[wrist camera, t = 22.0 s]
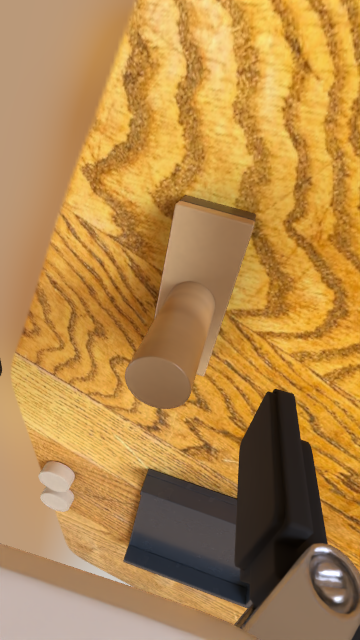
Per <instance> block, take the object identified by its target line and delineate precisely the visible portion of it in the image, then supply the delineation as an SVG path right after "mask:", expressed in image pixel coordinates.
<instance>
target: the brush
mask: <svg viewBox="0 0 360 640" xmlns="http://www.w3.org/2000/svg"><path fill="white" fill-rule="evenodd" d="M255 217H256V214H254V213H250V212H247V211H243V210H239V209H236V208H232V207H228V206H224V205H221V204H217V203H213V202H209V201H206V200H202V199H198V198H195V197H191V196H187V195H185V196H184V197H183V198H182V199H181V200H180V201H179V202H178V203H177V204H176V205H175V209H174V215H173V220H172V225H171V231H170V236H169V242H168V247H167V252H166V258H165V263H164V268H163V274H162V279H161V285H160V290H159V295H158V301H157V306H156V311H155V317H154V321H153V323H152V325H151V327H150V328H149V330H148V332H147V333H146V335H145V337H144V339H143V340H142V342H141V344H140V346H139V347H138V349H137V351H136V353H135V354H134V356H133V358H132V360H131V361H130V363H129V365H128V367H127V369H126V372H125V380H126V384H127V386H128V388H129V390H130V391H131V393H132V394H133V395H134V396H135V397H136V398H137V399H139V400H140V401H142V402H143V403H145V404H147V405H150V406H152V407H156V408H161V409H170V408H175V407H178V406H180V405H182V404H183V403H185V402H186V401H187V400H188V398H189V396H190V394H191V390H192V387H193V383H194V380H195V376H196V374H197V375H201V376H204V375H205V372H206V369H207V366H208V363H209V360H210V357H211V354H212V351H213V348H214V345H215V342H216V339H217V336H218V333H219V330H220V327H221V324H222V321H223V318H224V315H225V312H226V309H227V306H228V303H229V300H230V297H231V294H232V291H233V288H234V285H235V282H236V279H237V276H238V273H239V270H240V267H241V264H242V261H243V258H244V255H245V252H246V249H247V246H248V243H249V240H250V237H251V234H252V231H253V228H254V223H255Z"/></svg>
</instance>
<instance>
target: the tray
mask: <svg viewBox="0 0 360 640" xmlns="http://www.w3.org/2000/svg"><path fill="white" fill-rule="evenodd" d="M140 495H141V499H140V503H139V507H138V510H137V514H136V518H135V522H134V526H133V530H132V534H131V538H130V542H129V545H128V548H127V551H126V554H125V557H124V562H126V563H128V564H131V565H134V566H136V567H139V568H142V569H144V570H147V571H150V572H152V573H155V574H158V575H160V576H163V577H165V578H168V579H171V580H173V581H176V582H179V583H181V584H184V585H187V586H189V587H192V588H195V589H197V590H200V591H203V592H205V593H208V594H211V595H213V596H216V597H219V598H221V599H224V600H227V601H229V602H232V603H235V604H237V605H240V606H243V607H245V608H249V606H250V605H251V604H252V601H251V599H250V584H248V583H245V582H242V581H240V568H238V567H236V566H235V561H234V559H235V536H236V514H237V499H235V498H232V497H229V496H226V495H223V494H220V493H217V492H215V491H212V490H209V489H206V488H203V487H200V486H197V485H194V484H192V483H189V482H186V481H183V480H180V479H177V478H174V477H171V476H169V475H166V474H163V473H160V472H157V471H154V470H151V469H148V472H147V475H146V478H145V481H144V484H143V487H142V490H141V493H140Z"/></svg>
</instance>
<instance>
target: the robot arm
mask: <svg viewBox="0 0 360 640" xmlns="http://www.w3.org/2000/svg"><path fill="white" fill-rule="evenodd" d="M1 373H2V366H1V361H0V375H1ZM234 561H235V566H236V567H238V568H240V581H242V582H245V583H248V584H250V599H251V601H252V604H251V605H250V606H249V608H248V609H247V610H246V611H245V612H244V614H243V615H242V616H241V617H240V618H239V620H238V621H237V622H236V623H235V624H234V625H233V624H231V623H229V622H226V621H224V620H222V619H219V618H217V617H214V616H212V615H210V614H207V613H205V612H202V611H200V610H197V609H194V608H191V607H188V606H186V605H183V604H180V603H177V602H174V601H171V600H169V599H166V598H163V597H160V596H157V595H154V594H152V593H149V592H146V591H143V590H140V589H137V588H134V587H131V586H128V585H125V584H122V583H119V582H116V581H113V580H110V579H107V578H104V577H101V576H98V575H95V574H92V573H89V572H86V571H83V570H80V569H77V568H74V567H71V566H68V565H65V564H62V563H58V562H55V561H53V560H50V559H47V558H43V557H40V556H37V555H34V554H31V553H28V552H25V551H22V550H19V549H16V548H13V547H10V546H7V545H3V544H1V543H0V640H360V574H359V572H358V570H357V568H356V567H355V566H354V564H353V563H352V562H351V561H350V559H349V558H348V557H347V556H346V555H344V554H343V553H342V552H341V551H340V550H338V549H337V548H335V547H333V546H331V545H328V544H327V538H326V532H325V526H324V520H323V514H322V508H321V502H320V496H319V490H318V484H317V478H316V472H315V466H314V460H313V454H312V449H311V446H310V444H309V443H308V442H306V441H303V440H301V439H300V431H299V424H298V417H297V410H296V402H295V397H294V394H292V393H288V392H285V391H281V390H278V389H275V390H274V391H273V392H267V393H266V395H265V397H264V399H263V401H262V403H261V404H260V406H259V408H258V410H257V412H256V414H255V416H254V418H253V420H252V422H251V424H250V426H249V428H248V430H247V432H246V434H245V436H244V438H243V439H242V442H241V445H240V451H239V471H238V493H237V514H236V536H235V559H234Z"/></svg>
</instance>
